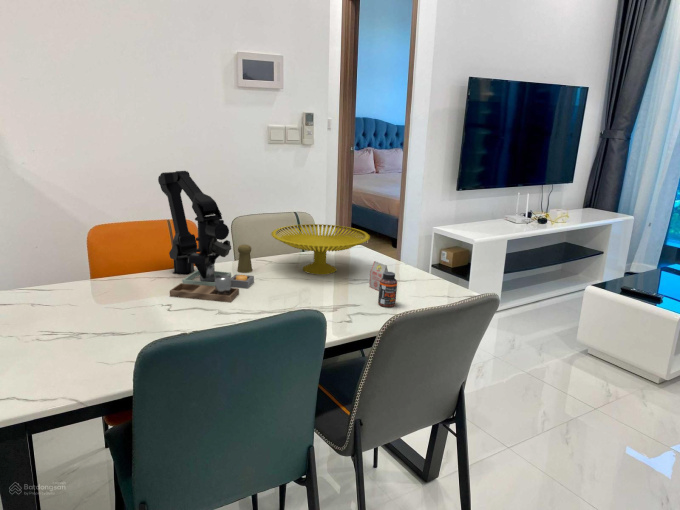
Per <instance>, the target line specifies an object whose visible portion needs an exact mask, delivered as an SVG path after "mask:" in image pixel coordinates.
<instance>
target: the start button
mask: <svg viewBox="0 0 680 510" xmlns="http://www.w3.org/2000/svg"><path fill="white" fill-rule="evenodd" d="M246 275H247V274H237V276H236V280H244V281H246V280H247V276H246Z"/></svg>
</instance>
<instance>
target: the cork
mask: <svg viewBox="0 0 680 510" xmlns="http://www.w3.org/2000/svg"><path fill="white" fill-rule="evenodd" d="M237 251H238V253H239V254H238V262H237V270H236V271H237V272H238V273H241V274H249V273H252V272H253V266H252V259H251V254H252V253H251V252H252V246H251V245H249V244H240V245H239V246H238V248H237Z"/></svg>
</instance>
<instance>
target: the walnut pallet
mask: <svg viewBox="0 0 680 510" xmlns="http://www.w3.org/2000/svg"><path fill="white" fill-rule="evenodd" d="M239 295H240V288H236V287H231V295H230V296H227V295H216V294H215V286H206V285H195V284H184V283H179V284H177V285H176V286H174V287H173V288H171V289H170V290H169V297H173V298H180V299H181V298H182V299H192V300H202V301H211V302H221V303H222V302H225V303H232V302H233V301H234V300H235V299H236V298H237V297H238V296H239Z"/></svg>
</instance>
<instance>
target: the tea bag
mask: <svg viewBox="0 0 680 510" xmlns="http://www.w3.org/2000/svg"><path fill="white" fill-rule="evenodd" d="M384 272H389V270H388V265H387V264H384V263H382V262H379V261H377V260H374V261H373V264H372V267H371V269H370V271H369V285H368V288H370V289H373V290H375V291H377V292H379V285H380V279H381V278H383V273H384Z"/></svg>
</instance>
